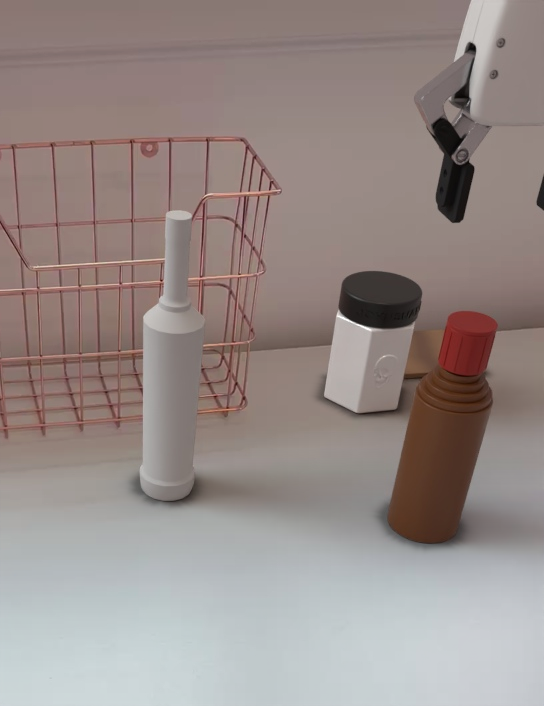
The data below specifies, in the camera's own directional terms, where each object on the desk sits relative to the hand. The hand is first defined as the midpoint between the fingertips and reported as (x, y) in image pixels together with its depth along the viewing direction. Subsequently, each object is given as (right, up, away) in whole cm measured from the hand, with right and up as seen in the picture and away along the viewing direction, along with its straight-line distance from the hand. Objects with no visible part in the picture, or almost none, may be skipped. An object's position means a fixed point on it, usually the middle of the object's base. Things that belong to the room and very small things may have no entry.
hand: (500, 212), depth 75 cm
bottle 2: (-1, -21, +19) cm, 28 cm away
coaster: (+5, +2, +43) cm, 44 cm away
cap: (-1, -9, +8) cm, 12 cm away
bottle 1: (-25, -17, +21) cm, 37 cm away
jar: (-4, -5, +36) cm, 36 cm away
